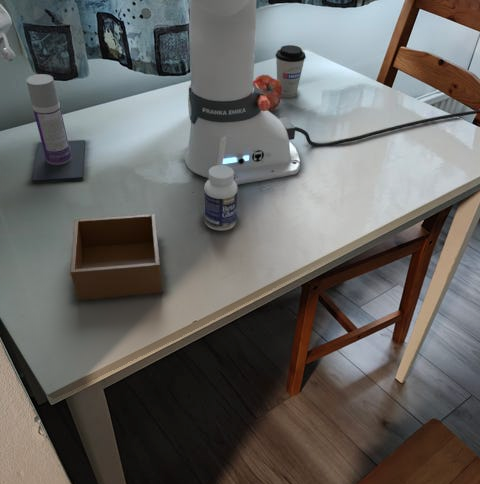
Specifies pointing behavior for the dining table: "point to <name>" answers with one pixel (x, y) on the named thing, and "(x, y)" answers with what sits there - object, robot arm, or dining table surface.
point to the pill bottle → (220, 198)
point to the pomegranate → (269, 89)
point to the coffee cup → (289, 69)
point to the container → (49, 118)
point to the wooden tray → (115, 257)
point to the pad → (60, 172)
